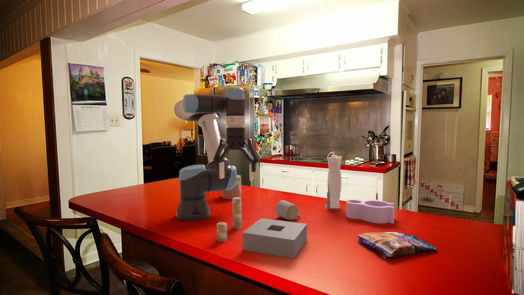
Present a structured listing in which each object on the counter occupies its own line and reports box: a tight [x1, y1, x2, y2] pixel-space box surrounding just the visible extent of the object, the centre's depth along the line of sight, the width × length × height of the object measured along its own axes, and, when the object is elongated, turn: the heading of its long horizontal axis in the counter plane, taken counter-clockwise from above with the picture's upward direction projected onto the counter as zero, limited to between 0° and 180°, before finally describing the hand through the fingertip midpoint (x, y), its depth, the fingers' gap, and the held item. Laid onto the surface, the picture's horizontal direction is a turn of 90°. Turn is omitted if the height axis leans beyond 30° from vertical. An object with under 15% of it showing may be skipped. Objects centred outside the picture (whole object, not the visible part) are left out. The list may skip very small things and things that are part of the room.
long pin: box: [231, 197, 243, 230], centre depth 121 cm, size 4×4×12 cm
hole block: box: [242, 218, 308, 259], centre depth 103 cm, size 18×16×6 cm
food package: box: [357, 231, 438, 259], centre depth 101 cm, size 22×25×4 cm
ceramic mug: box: [275, 199, 301, 221], centre depth 133 cm, size 11×8×8 cm
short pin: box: [216, 221, 228, 243], centre depth 108 cm, size 4×4×6 cm
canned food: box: [221, 174, 242, 200], centre depth 173 cm, size 11×11×12 cm
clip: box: [345, 198, 396, 224], centre depth 132 cm, size 20×12×7 cm, turn 65°
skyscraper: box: [324, 151, 343, 210], centre depth 149 cm, size 8×8×28 cm
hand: (236, 179), depth 120 cm, fingers open, 13 cm apart
